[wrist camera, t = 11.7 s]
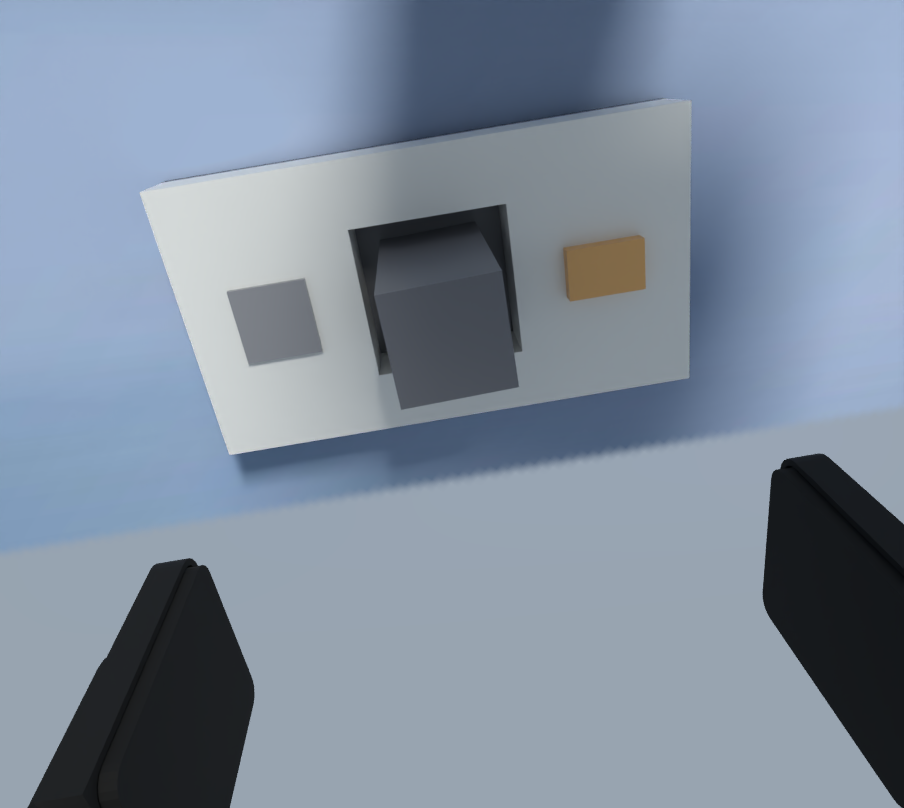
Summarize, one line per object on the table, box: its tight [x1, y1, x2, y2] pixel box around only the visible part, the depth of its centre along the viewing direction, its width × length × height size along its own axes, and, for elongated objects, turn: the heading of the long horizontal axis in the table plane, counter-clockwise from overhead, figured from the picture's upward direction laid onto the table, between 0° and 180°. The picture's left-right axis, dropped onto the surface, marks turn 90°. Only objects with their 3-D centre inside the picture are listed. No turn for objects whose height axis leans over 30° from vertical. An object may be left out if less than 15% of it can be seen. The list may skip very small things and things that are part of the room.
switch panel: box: [140, 98, 691, 455], centre depth 28 cm, size 20×11×4 cm, turn 98°
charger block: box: [374, 222, 519, 410], centre depth 25 cm, size 4×4×8 cm
